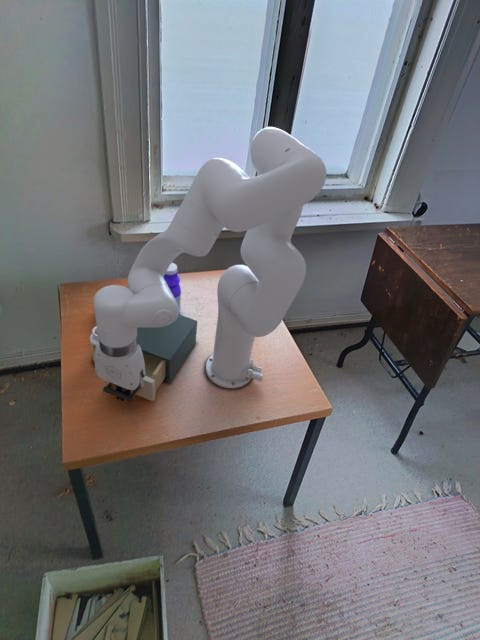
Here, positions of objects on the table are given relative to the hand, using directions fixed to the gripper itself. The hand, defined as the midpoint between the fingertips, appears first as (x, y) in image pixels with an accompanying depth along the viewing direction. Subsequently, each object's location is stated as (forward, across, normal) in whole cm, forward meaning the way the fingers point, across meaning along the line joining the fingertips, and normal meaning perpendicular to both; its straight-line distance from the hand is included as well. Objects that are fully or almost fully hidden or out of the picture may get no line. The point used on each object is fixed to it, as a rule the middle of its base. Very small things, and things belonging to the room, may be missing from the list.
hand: (123, 395), depth 95 cm
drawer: (+1, 0, +7) cm, 7 cm away
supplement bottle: (+2, -11, +9) cm, 15 cm away
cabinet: (+2, 0, +17) cm, 17 cm away
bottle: (+2, -5, +32) cm, 32 cm away
